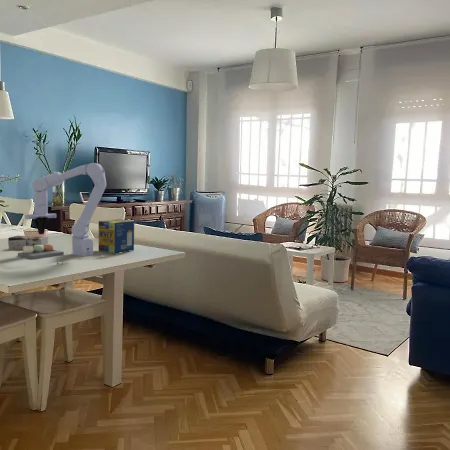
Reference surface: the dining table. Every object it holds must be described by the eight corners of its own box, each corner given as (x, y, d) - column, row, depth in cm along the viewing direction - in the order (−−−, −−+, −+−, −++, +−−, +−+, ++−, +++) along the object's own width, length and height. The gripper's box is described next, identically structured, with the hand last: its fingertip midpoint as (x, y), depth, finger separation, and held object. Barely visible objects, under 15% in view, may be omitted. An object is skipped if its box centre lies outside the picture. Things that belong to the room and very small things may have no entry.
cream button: (35, 253, 203) (34, 246, 203) (26, 254, 200) (26, 247, 199) (29, 252, 205) (29, 245, 205) (21, 253, 202) (21, 246, 202)
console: (63, 257, 208) (63, 251, 208) (33, 261, 196) (33, 255, 196) (48, 253, 215) (48, 248, 215) (18, 257, 203) (17, 252, 203)
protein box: (98, 252, 224) (97, 221, 223) (118, 248, 238) (119, 218, 236) (114, 254, 219) (114, 222, 218) (134, 250, 233) (134, 220, 231)
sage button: (45, 251, 207) (45, 245, 207) (37, 253, 204) (36, 246, 203) (40, 250, 209) (39, 244, 209) (32, 251, 206) (31, 245, 206)
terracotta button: (54, 250, 211) (54, 244, 211) (47, 251, 208) (47, 245, 207) (49, 249, 213) (49, 243, 213) (42, 250, 210) (41, 244, 210)
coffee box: (41, 238, 220) (7, 237, 220) (41, 251, 221) (8, 250, 221) (48, 236, 229) (16, 235, 229) (48, 248, 230) (16, 247, 230)
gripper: (50, 203, 216) (50, 232, 217) (21, 204, 204) (21, 234, 206) (58, 204, 212) (59, 233, 213) (29, 205, 200) (30, 236, 201)
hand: (41, 234), depth 209 cm, fingers closed
